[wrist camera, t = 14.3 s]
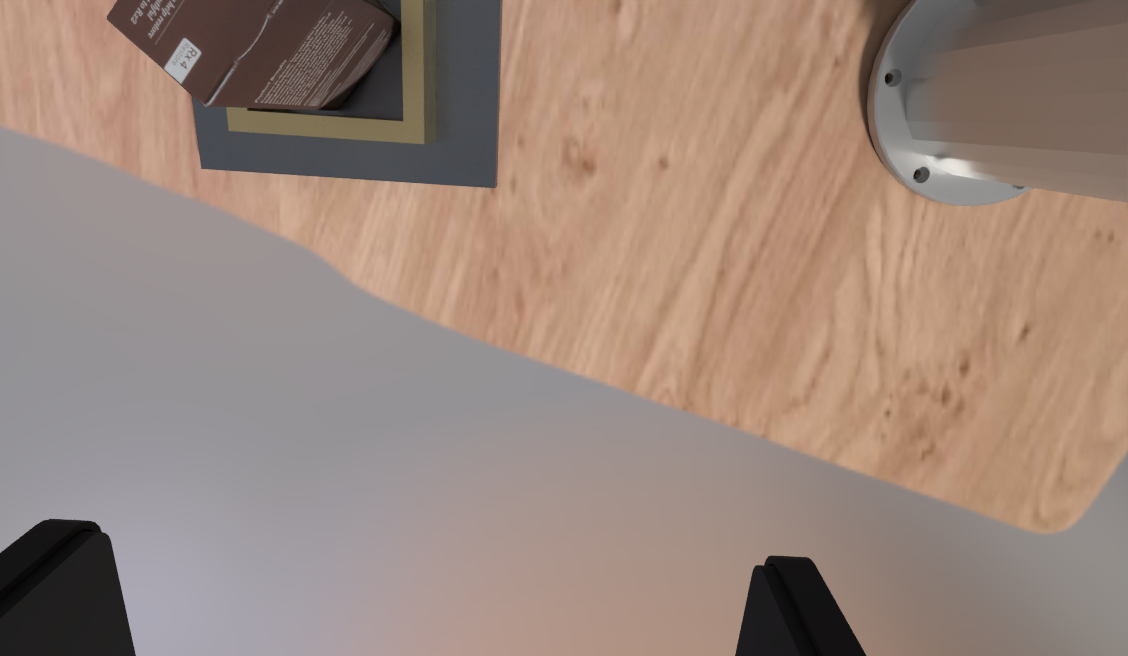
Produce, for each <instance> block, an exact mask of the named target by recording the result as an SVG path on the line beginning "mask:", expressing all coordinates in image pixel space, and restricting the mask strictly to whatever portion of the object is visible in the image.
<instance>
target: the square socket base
mask: <svg viewBox="0 0 1128 656" xmlns="http://www.w3.org/2000/svg"><path fill="white" fill-rule="evenodd" d="M380 1H381V2H382V3H383V4H384V5H385V6H386V7H387V8H388V9H389V10H390V11H392V12H393V13H394V14H395V16H396V17H397V18H398V19H399V20H400V21H401V29H400V30H399V31H398V33H397V34H396V35H395V37H394V38H393V39H392V41H391V42H390V43H389V45H388V46H387V47H386V49H385V50H384V51H383V53H382V54H381V55H380V56H379V58H378V59H377V60H376V62H375V63H374V64H373V65H372V67H371V68H370V69H369V71H368V72H367V73H366V75H365V76H364V77H363V78H362V80H361V81H360V82H359V83H358V85H357V86H356V87H355V88H354V90H353V91H352V92H351V94H350V95H349V96H348V97H347V99H346V100H345V101H344V102H343V104H342V105H341V106H340V107H339V109H338V110H336V111H324V110H299V109H298V110H294V109H269V108H236V107H205V106H203V105H202V104H201V103H200V102H199V101H198V100H196V99H195V98H194V97H193V96H192V98H193V106H194V114H195V122H196V130H197V138H198V146H199V154H200V161H201V169H214V170H229V171H244V172H259V173H274V174H289V175H304V176H320V177H335V178H350V179H365V180H380V181H395V182H410V183H425V184H440V185H456V186H471V187H486V188H496V187H497V169H498V135H499V100H500V65H501V31H502V0H380Z"/></svg>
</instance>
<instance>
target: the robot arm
mask: <svg viewBox="0 0 1128 656" xmlns="http://www.w3.org/2000/svg"><path fill="white" fill-rule="evenodd" d="M886 74H888V76H889V80H888V82H887V83H885V76H886ZM867 115H868V124H869V131H870V134H871V138H872V141H873V144H874V147H875V150H876V152H877V154H878V156H879V157H880V159H881V161H882V163H883V165H884V166H885V168H886V169H887V170H888V171H889V172H890V174H891V175H892V176H893V177H894V178H895V179H896V180H897V181H898V182H899V183H900V184H902V185H903V186H904V187H906V188H907V189H909V190H910V191H912V192H913V193H915V194H917V195H919V196H922V197H924V198H927V199H929V200H932V201H935V202H940V203H945V204H949V205H956V206H971V207H973V206H981V205H989V204H996V203H999V202H1002V201H1005V200H1009V199H1012V198H1015V197H1018V196H1020V195H1022V194H1024V193H1026V192H1028V191H1030V190H1032V189H1034V188H1037V189H1043V190H1049V191H1056V192H1062V193H1068V194H1075V195H1081V196H1088V197H1094V198H1100V199H1107V200H1113V201H1119V202H1126V203H1128V0H911V1H910V2H909V4H908V5H907V6H906V7H905V8H904V9H903V10H902V11H901V13H900V14H899V15H898V17H897V19H896V20H895V22H894V23H893V25H892V26H891V28H890V29H889V31H888V32H887V34H886V36H885V38H884V40H883V42H882V45H881V47H880V49H879V51H878V54H877V56H876V58H875V61H874V65H873V69H872V73H871V77H870V81H869V86H868V98H867ZM915 171H916V176H915V177H913V174H914V172H915ZM0 656H136V655H135V650H134V646H133V642H132V637H131V632H130V628H129V623H128V618H127V613H126V609H125V604H124V600H123V595H122V591H121V586H120V581H119V577H118V572H117V568H116V563H115V558H114V554H113V549H112V544H111V540H110V538H109V536H108V535H107V534H106V533H102V532H101V529H100V527H99V526H98V525H97V524H96V523H95V522H92V521H81V520H61V519H49V520H44V521H42V522H40V523H39V524H37V525H35V526H34V527H33V528H32V529H30V530H29V531H28V532H27V533H25V534H24V535H23V536H21V537H20V538H19V539H18V540H16V541H15V542H14V543H12V544H11V545H10V546H9V547H8V548H6V549H5V550H4V551H2V552H1V553H0ZM735 656H866V654H865V653H864V651H863V649H862V647H861V645H860V644H859V642H858V640H857V638H856V637H855V635H854V633H853V631H852V629H851V628H850V626H849V624H848V622H847V621H846V619H845V617H844V615H843V613H842V612H841V610H840V609H839V607H838V605H837V603H836V601H835V599H834V598H833V596H832V594H831V592H830V591H829V589H828V587H827V585H826V583H825V582H824V580H823V578H822V576H821V575H820V573H819V571H818V569H817V568H816V566H815V564H814V563H813V561H812V560H811V559H809V558H807V557H790V556H769V557H768V558H767V559H766V561H765V564H764V566H762V565H757V566H755V568H754V569H753V573H752V577H751V582H750V587H749V592H748V597H747V601H746V606H745V611H744V616H743V621H742V625H741V631H740V635H739V640H738V645H737V650H736V654H735Z"/></svg>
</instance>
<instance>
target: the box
mask: <svg viewBox="0 0 1128 656" xmlns="http://www.w3.org/2000/svg"><path fill="white" fill-rule="evenodd" d="M107 20H108V21H109V22H110V23H111V24H112V25H113V26H115V27H116V28H117V29H118V30H119V31H120V32H121V33H122V34H123V35H125V36H126V37H127V38H128V39H129V40H130V41H132V42H133V43H134V44H135V45H136V46H137V47H138V48H140V49H141V50H142V51H143V52H144V53H145V54H147V55H148V56H149V57H150V58H151V59H152V60H154V61H155V62H156V63H157V64H158V65H159V66H160V67H161V68H162V69H163V70H165V71H166V72H167V73H168V74H169V75H170V76H171V77H172V78H173V79H175V80H176V81H177V82H178V83H179V84H180V85H181V86H182V87H183V88H184V89H185V90H186V91H188V92H189V93H190V94H191V95H192V96H193V97H194V98H195V99H196V100H198V101H199V102H200V103H201V104H202V105H203V106H205V107H236V108H269V109H294V110H298V109H299V110H324V111H336V110H338V109H339V107H340V106H341V105H342V104H343V102H344V101H345V100H346V99H347V97H348V96H349V95H350V94H351V92H352V91H353V90H354V88H355V87H356V86H357V85H358V83H359V82H360V81H361V80H362V78H363V77H364V76H365V75H366V73H367V72H368V71H369V69H370V68H371V67H372V65H373V64H374V63H375V62H376V60H377V59H378V58H379V56H380V55H381V54H382V53H383V51H384V50H385V49H386V47H387V46H388V45H389V43H390V42H391V41H392V39H393V38H394V37H395V35H396V34H397V33H398V31H399V30H400V29H401V21H400V20H399V19H398V18H397V17H396V16H395V14H394V13H393V12H392V11H390V10H389V9H388V8H387V7H386V6H385V5H384V4H383V3H382V2H381V1H380V0H117V2H116V3H115V5H114V7H113V9H112V10H111V11H110V13H109V14H108V16H107Z"/></svg>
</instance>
